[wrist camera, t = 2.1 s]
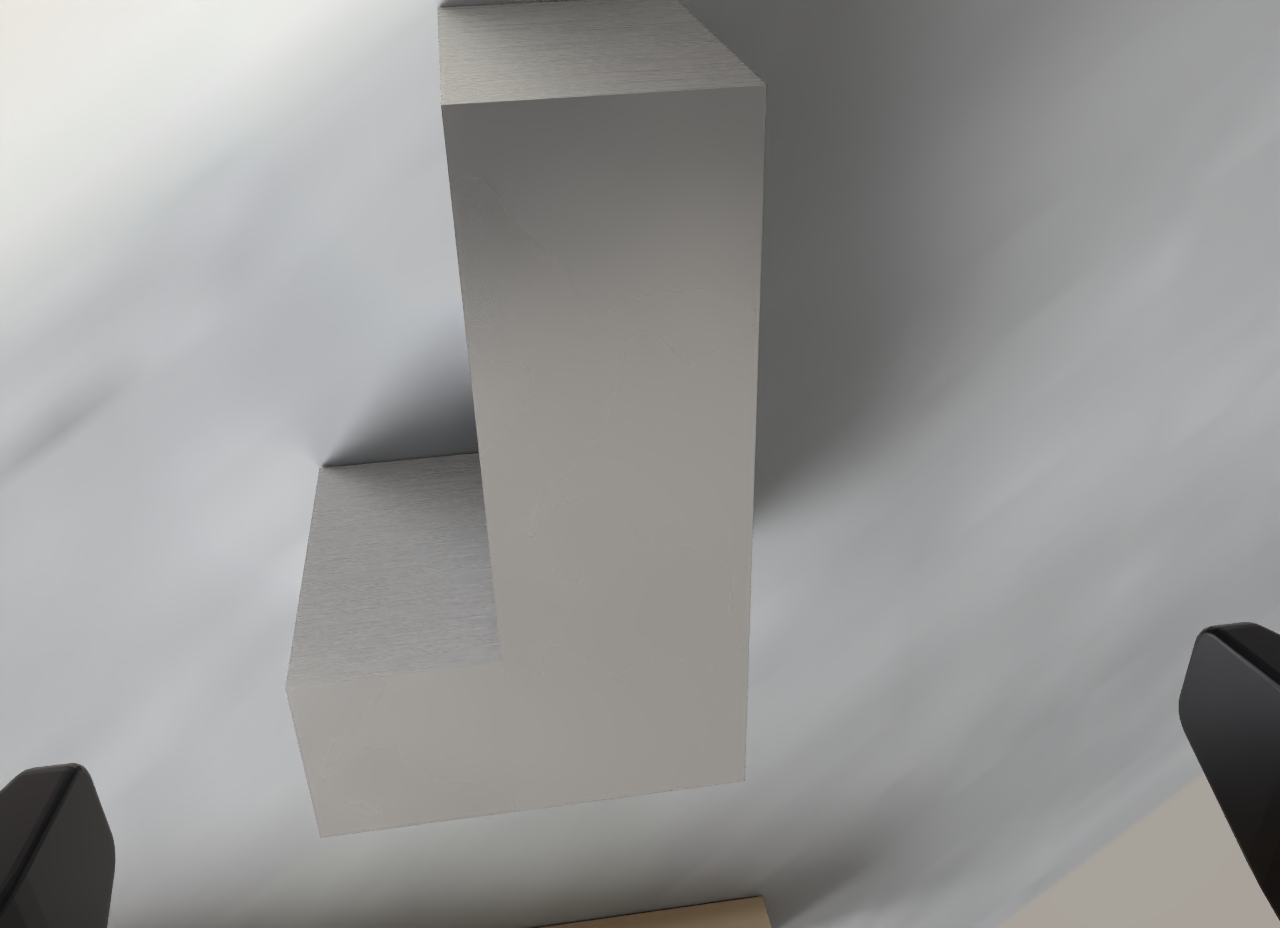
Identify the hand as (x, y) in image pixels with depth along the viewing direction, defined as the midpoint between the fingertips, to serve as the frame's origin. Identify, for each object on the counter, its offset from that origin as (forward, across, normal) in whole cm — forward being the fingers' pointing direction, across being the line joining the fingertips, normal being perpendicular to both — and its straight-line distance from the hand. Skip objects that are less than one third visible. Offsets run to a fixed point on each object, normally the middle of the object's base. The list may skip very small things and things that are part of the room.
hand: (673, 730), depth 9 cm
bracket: (+9, +1, 0) cm, 9 cm away
